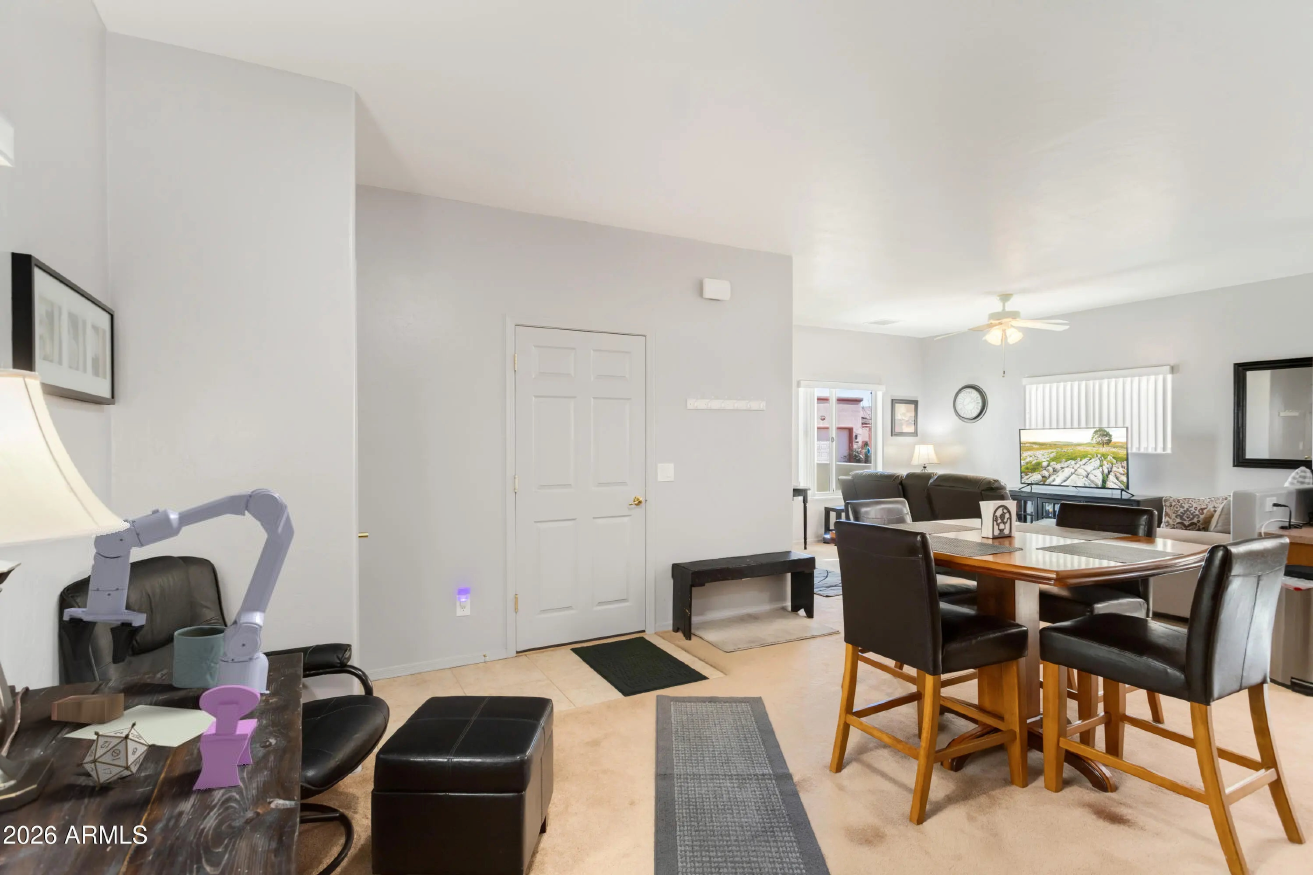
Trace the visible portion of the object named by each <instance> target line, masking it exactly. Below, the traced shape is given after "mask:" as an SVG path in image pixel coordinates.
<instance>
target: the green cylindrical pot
mask: <svg viewBox="0 0 1313 875" xmlns="http://www.w3.org/2000/svg"><path fill="white" fill-rule="evenodd" d="M226 628H227V627H226V626H220V625H200V626H199V625H198V626H191V627H190V626H189V627H185V628H181V629H178V630H176V631H175V632H174V634H173V652H174V654H173V659H172V662H173V666H172V670H173V671H172V683H171V684H172V686H173V687H175V688H180V689H195V688H200V689H201V688H203V689H213V688H216V684H217V676H218V667H219V659H220V655H221V654H222V653H223V652H224V651H225V644H224V642H223V634H224V631H225V630H226Z"/></svg>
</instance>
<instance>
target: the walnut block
mask: <svg viewBox="0 0 1313 875" xmlns="http://www.w3.org/2000/svg"><path fill="white" fill-rule="evenodd" d="M124 695H125V693H123V692H122V693H104V694H83V695H72V696H71V695H70V696H67V697H66V698H62V699H60V700H59V699H58V700H57V701H54V702H51V720H52V721H59V722H70V723H71V722H72V723H79V724H80V723H84V724H90V725H92V724H95V723H106V722H109V721H111V720H113V719H116V718H118V717H121V716H123V715H124V711H125V707H124V706H125V704H124V703H125V702H124V701H125V699H124V698H125V696H124Z"/></svg>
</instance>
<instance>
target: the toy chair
mask: <svg viewBox="0 0 1313 875" xmlns="http://www.w3.org/2000/svg"><path fill="white" fill-rule="evenodd" d="M260 700H261V693H259V692H258V691H256V690H255V689H252V688H249V687H246V686H240V685H226V686H219V687H216V688H213V689H212V688H209V689H208V690H206V691H205V692H204V693H202V695H200V697H199V703H198V704H199V707H200V709H201V710H203V711H205V712H207V713H208V714H210V715H211V716H213V717H215V718H216V721H213V722H212V723H211V725H210V726H209V728H208V729H207V730H206V731H205V732H203V733H201V735H200V743H199V750H200V754H201V757H202V758H201V760H202V767H201V771H200V774H199V777H197V778H198V779H197V780H196V781H195V784H194V785H193V788H192V791H197V790H196V789H201V790H209V789H208V788H213V789H216V788H215V787H226V788H229V787H228V786H234V785H240V786H241V781H240V777H239V772H238V771H239V770H238V766H247V765H246V764H252V765H253V760H252V756H251V751H250V743H251V739H252V737H253V735H254V733H255V732H256V730H257V728H258V725H257V724H258V718H254V719H253V718H251V719H250V718H248V719H241V718H242V717H244V716H245V715H247V714H250V712H252V711H253V710H254V709H256V708H257V706H258V705H259V703H260ZM240 719H241V720H240ZM243 764H245V765H243ZM237 765H238V766H237ZM206 788H207V789H206Z"/></svg>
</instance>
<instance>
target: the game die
mask: <svg viewBox="0 0 1313 875" xmlns="http://www.w3.org/2000/svg"><path fill="white" fill-rule="evenodd" d="M135 725H136V721H135V722H134V723H132V725H131V727H130V728H126V729H121V730H117V731H113V732H109V733H105V734H99V732H97V731H94V735H95V736H97V738H96V740H95V739H94V742H93V743H92V745H91V747H90V749H89V751H88V752H87V754H85V756H84V758H83V761H82V762H78V763H76V764H75V765H74V767H76V768H79V767H81V766H82V767H83V768H84V769H85V770H86V771H87V772H88V774H89V775H90V776H91V777H92V778H93V779H94V781H95V782H97V785H96V786H95V791H96V790H97V791H98V790H100V789H101V787H102V785H104V784H107V783H110V782H114V781H118V780H119V779H120V778H123V777H127V776H130V775H134V774H136V773H137V771H138V769H139V768H140V766H141V764H142V762H143V760H144V758H146V755H147V753H148V752H149V750H150V748H155V747H156V746H158V745H157V744H154V743H153V744H151V745H149V744H148V743H147V742H146V741H145V740H144V739H143V738H142V737H141V735H140V734H139V733H138V732H137V731H136V730H135V729H134V726H135Z"/></svg>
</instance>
